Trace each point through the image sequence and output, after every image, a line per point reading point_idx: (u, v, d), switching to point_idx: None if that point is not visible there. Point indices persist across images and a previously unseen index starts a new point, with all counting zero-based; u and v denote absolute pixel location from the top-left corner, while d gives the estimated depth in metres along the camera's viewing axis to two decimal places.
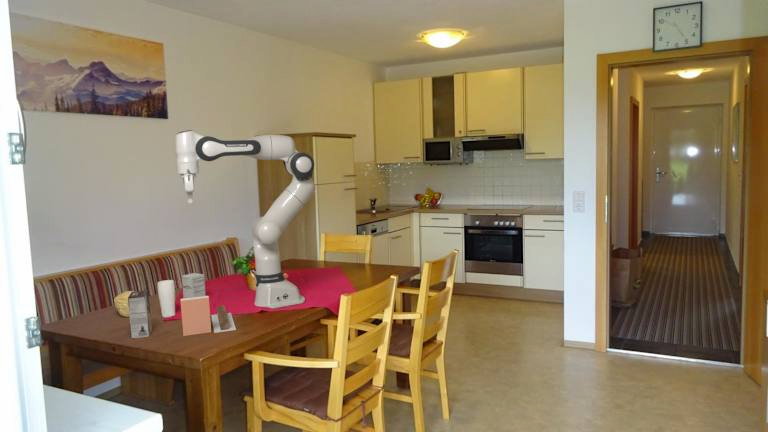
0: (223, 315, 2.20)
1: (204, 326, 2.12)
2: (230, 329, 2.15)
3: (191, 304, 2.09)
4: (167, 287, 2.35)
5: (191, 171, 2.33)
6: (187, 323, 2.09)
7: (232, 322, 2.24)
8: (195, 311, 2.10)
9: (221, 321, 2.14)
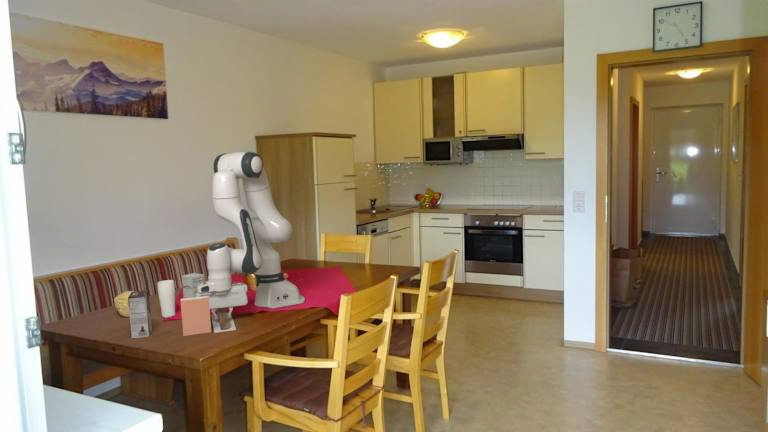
0: (223, 315, 2.20)
1: (204, 326, 2.12)
2: (230, 329, 2.15)
3: (191, 304, 2.09)
4: (167, 287, 2.35)
5: None
6: (187, 323, 2.09)
7: (232, 322, 2.24)
8: (195, 311, 2.10)
9: (221, 321, 2.14)
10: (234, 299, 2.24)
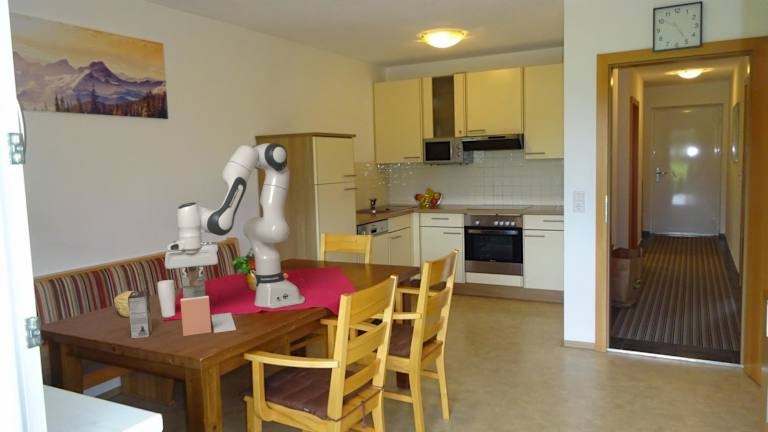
0: (193, 273, 2.21)
1: (204, 326, 2.12)
2: (230, 329, 2.15)
3: (191, 304, 2.09)
4: (167, 287, 2.35)
5: None
6: (187, 323, 2.09)
7: (232, 322, 2.24)
8: (195, 311, 2.10)
9: (190, 278, 2.15)
10: (204, 258, 2.25)
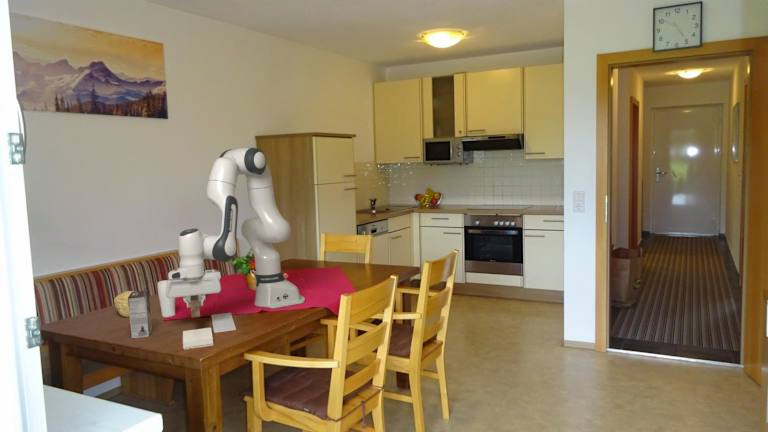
0: (195, 302, 2.13)
1: None
2: (230, 329, 2.15)
3: None
4: None
5: None
6: None
7: (232, 322, 2.24)
8: None
9: (192, 308, 2.07)
10: (206, 287, 2.17)
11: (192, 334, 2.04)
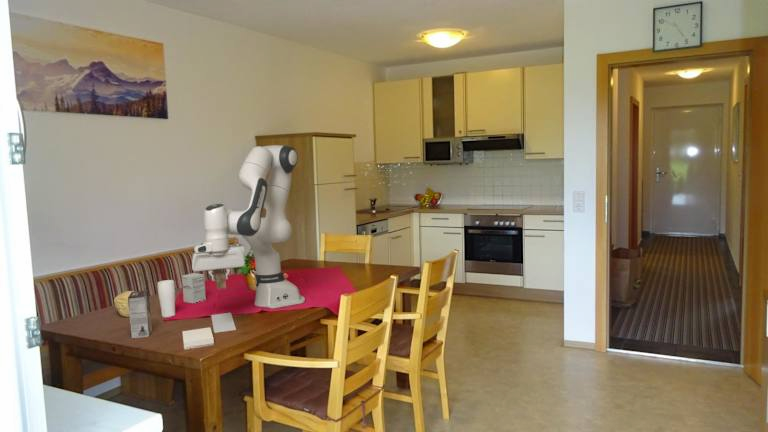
0: (220, 275, 2.18)
1: None
2: (230, 329, 2.15)
3: None
4: (167, 287, 2.35)
5: None
6: None
7: (232, 322, 2.24)
8: None
9: (218, 280, 2.12)
10: (231, 261, 2.22)
11: (192, 334, 2.04)
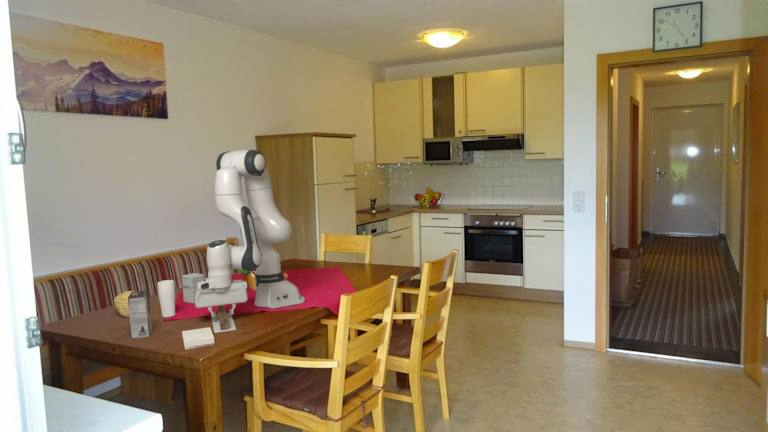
0: (223, 315, 2.20)
1: None
2: (230, 329, 2.15)
3: None
4: (167, 287, 2.35)
5: None
6: None
7: (232, 322, 2.24)
8: None
9: (221, 321, 2.14)
10: (234, 296, 2.24)
11: (192, 334, 2.04)
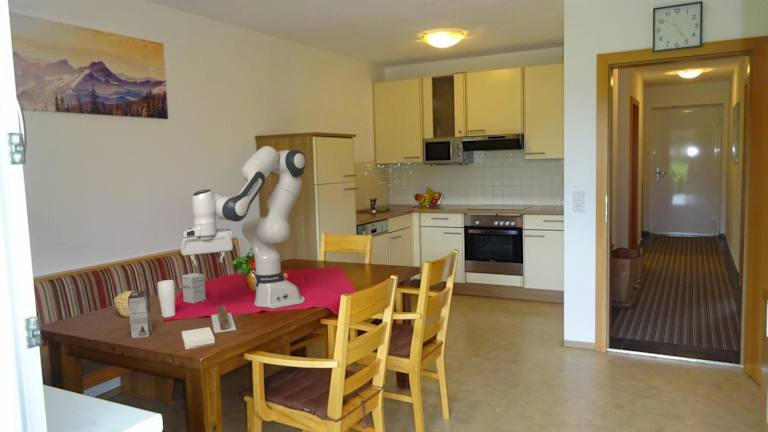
0: (223, 315, 2.20)
1: None
2: (230, 329, 2.15)
3: None
4: (167, 287, 2.35)
5: None
6: None
7: (232, 322, 2.24)
8: None
9: (221, 321, 2.14)
10: (219, 245, 2.28)
11: (192, 334, 2.04)
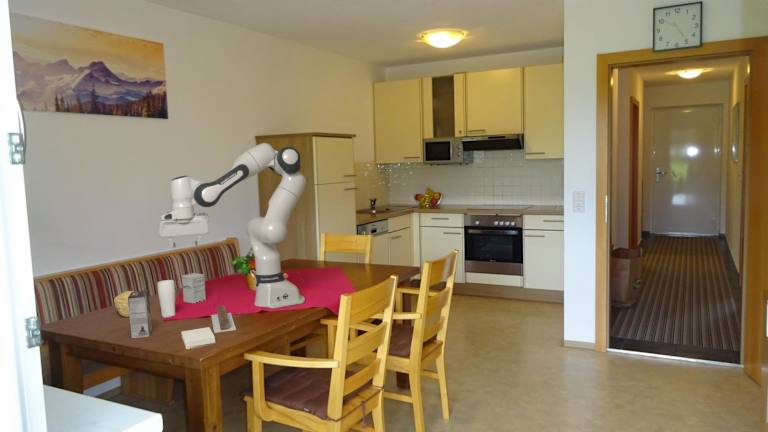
0: (223, 315, 2.20)
1: None
2: (230, 329, 2.15)
3: None
4: (167, 287, 2.35)
5: None
6: None
7: (232, 322, 2.24)
8: None
9: (221, 321, 2.14)
10: (196, 228, 2.40)
11: (192, 334, 2.04)
